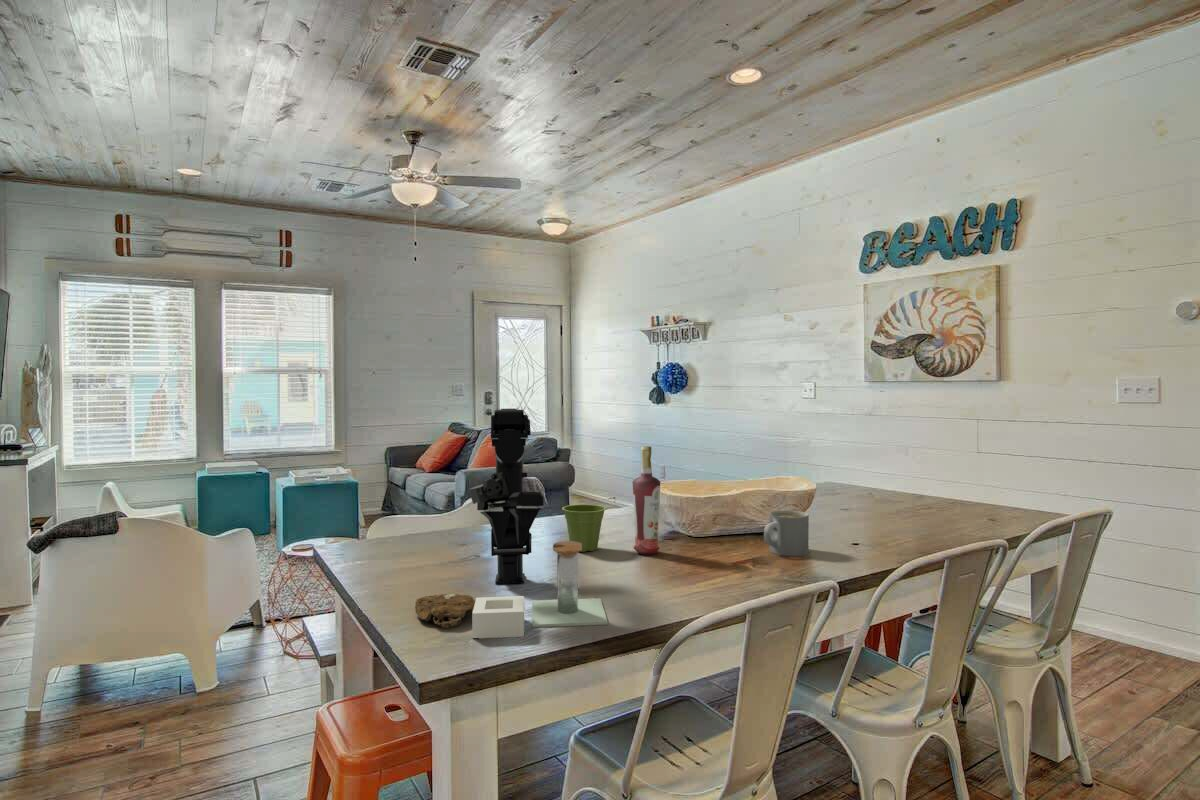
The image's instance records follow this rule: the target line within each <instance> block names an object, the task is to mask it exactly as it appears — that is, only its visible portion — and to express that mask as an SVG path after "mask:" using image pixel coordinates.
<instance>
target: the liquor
mask: <svg viewBox="0 0 1200 800" xmlns="http://www.w3.org/2000/svg"><path fill="white" fill-rule="evenodd" d="M640 448H641V450H640V453H641V458H642V460H641V468H640V469H641V470H640V476H638V477H636V478H635V479H634V480H632V499H633V500H632V501H633V502H632V503H633V515H634V541H635V542H634V543H635V545H634V546H633V549H634V550H635V551H636V552H637V553H638V554H639V555H642V556H652V555H655V554H656V553H657V552H658V551H659V550H660V546H659V524H660V522H659V519H660V518H659V517H660V504H661V503H660V502H661V501H660V500H661V481H660V480H659V479H658V478H657V477H654V476H653V470H652V469H653V467H652V461H651V460H652V459H651V458H652V446H641V447H640Z"/></svg>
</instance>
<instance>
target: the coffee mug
mask: <svg viewBox="0 0 1200 800" xmlns="http://www.w3.org/2000/svg"><path fill="white" fill-rule="evenodd" d="M809 523H810V522H809V513H806V512H804V511H799V510H788V509H787V510H785V509H784V510H783V509H782V510H772V511H770V512H769V523H767V524H766V525H765V527H764V530H763V538H764V539H763V540H764V542H765V543H766V544H767V545H768V546H769V552H770V553H772V554H775V555H779V556H783V557H784V556H785V557H801V556H806V555H808V554H809V530H810V529H809V528H810V527H809V526H810V525H809Z"/></svg>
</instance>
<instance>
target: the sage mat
mask: <svg viewBox="0 0 1200 800" xmlns="http://www.w3.org/2000/svg"><path fill="white" fill-rule="evenodd" d="M531 602H532V605H531V606H532V607H531V608H532V609H531V610H532V611H531V614H532V616H531V617H532V618H531V621H532V622H531V623H532V625H531V626H532V628H547V627H549V628H550V627H551V628H552V627H574V626H575V627H577V626H597V625H599V626H601V625H602V626H604V625H609V623H608V622H609V621H608V617H607V614H606V612H605V608H604V606H603V603H602V599H601V598H600V597H599V598H578V611H577V612H576V613H572V614H563V613H559V612H558V599H545V600H544V599H543V600H541V599H540V600H532V601H531Z"/></svg>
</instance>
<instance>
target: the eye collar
mask: <svg viewBox="0 0 1200 800" xmlns="http://www.w3.org/2000/svg"><path fill="white" fill-rule="evenodd" d="M471 616H472V617H471V618H472V627H471V628H472V635H471V636H472V639H473V638H479V639H499V638H500V639H501V638H502V639H503V638H522V637H523V638H524V637H525V596H524V595H516V596H514V595H513V596H511V595H510V596H483V597H482V596H481V597H476V598H475V605H474V609H473V610H472V615H471Z"/></svg>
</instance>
